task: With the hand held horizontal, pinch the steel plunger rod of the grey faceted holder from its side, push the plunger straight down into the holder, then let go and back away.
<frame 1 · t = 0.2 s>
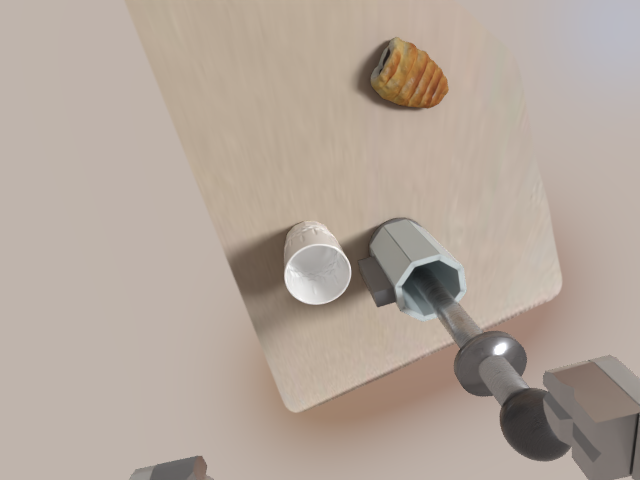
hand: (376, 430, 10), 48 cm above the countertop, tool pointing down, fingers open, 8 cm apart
grey faceted holder: (397, 245, 62), on the countertop
pastry: (404, 75, 54), on the countertop
white cup: (308, 242, 60), on the countertop
plunger: (470, 338, 41), point 23 cm above the countertop, slide at 0.0 cm
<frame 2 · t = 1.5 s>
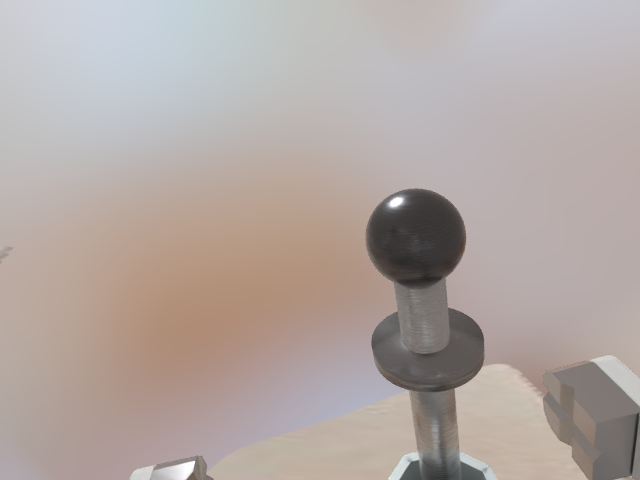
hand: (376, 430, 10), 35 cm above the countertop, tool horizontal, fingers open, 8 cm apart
plunger: (432, 394, 26), point 23 cm above the countertop, slide at 0.0 cm
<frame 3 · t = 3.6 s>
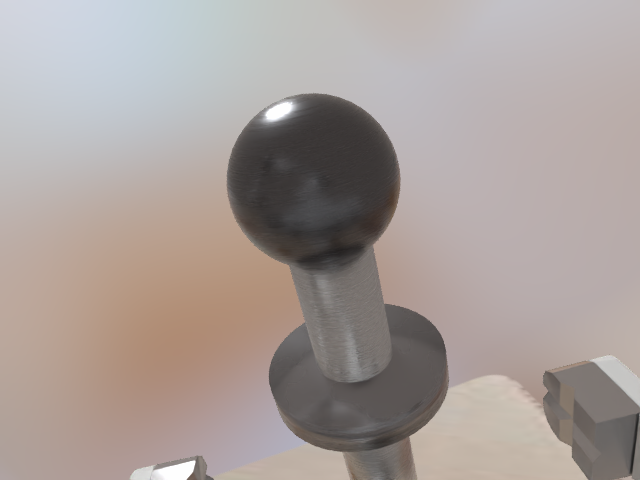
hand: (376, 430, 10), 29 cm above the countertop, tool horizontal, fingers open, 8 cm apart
plunger: (375, 442, 17), point 23 cm above the countertop, slide at 0.0 cm
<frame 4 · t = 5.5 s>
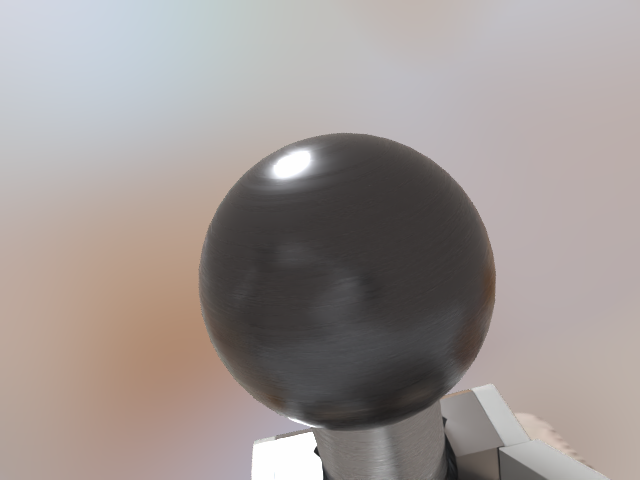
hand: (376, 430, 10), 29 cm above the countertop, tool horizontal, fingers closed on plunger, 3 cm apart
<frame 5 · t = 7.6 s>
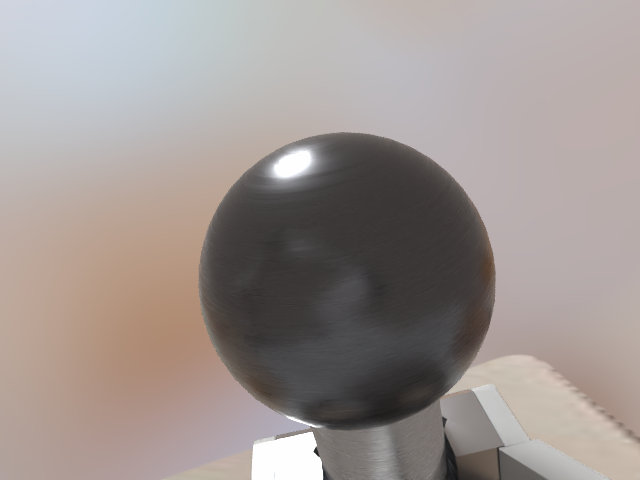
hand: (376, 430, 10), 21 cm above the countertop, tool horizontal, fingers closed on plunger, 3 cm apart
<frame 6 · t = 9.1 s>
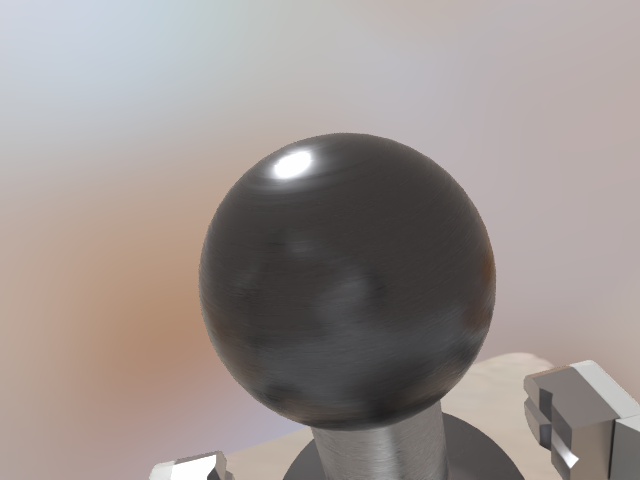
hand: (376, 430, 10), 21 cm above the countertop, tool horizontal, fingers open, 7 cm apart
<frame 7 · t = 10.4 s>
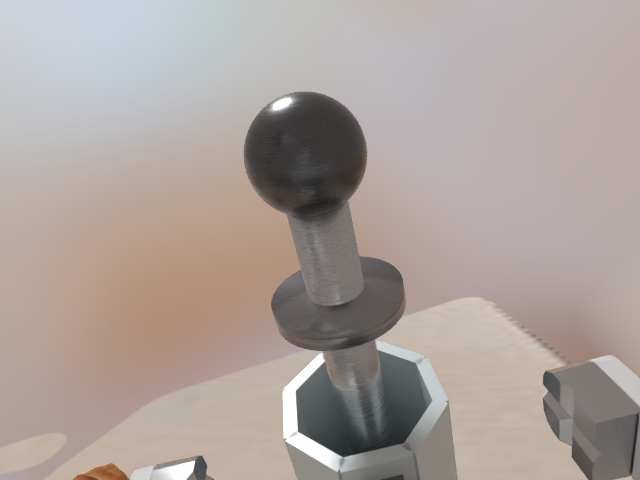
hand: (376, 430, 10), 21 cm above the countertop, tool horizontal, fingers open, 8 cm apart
plunger: (352, 362, 21), point 15 cm above the countertop, slide at 7.7 cm
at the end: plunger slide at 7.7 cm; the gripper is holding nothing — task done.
